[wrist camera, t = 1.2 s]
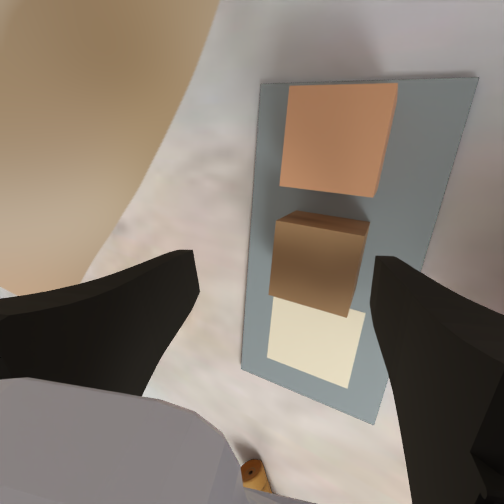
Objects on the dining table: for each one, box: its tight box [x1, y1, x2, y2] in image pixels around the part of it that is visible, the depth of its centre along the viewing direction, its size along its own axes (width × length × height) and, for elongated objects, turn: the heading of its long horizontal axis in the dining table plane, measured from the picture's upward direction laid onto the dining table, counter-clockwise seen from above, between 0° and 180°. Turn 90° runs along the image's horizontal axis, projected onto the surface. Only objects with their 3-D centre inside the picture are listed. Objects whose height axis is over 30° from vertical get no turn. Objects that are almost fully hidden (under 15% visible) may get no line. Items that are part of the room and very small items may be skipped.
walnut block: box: [268, 210, 370, 318], centre depth 18 cm, size 5×5×4 cm
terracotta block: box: [279, 83, 398, 198], centre depth 16 cm, size 5×5×4 cm
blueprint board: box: [241, 77, 479, 425], centre depth 20 cm, size 24×12×1 cm, turn 176°
